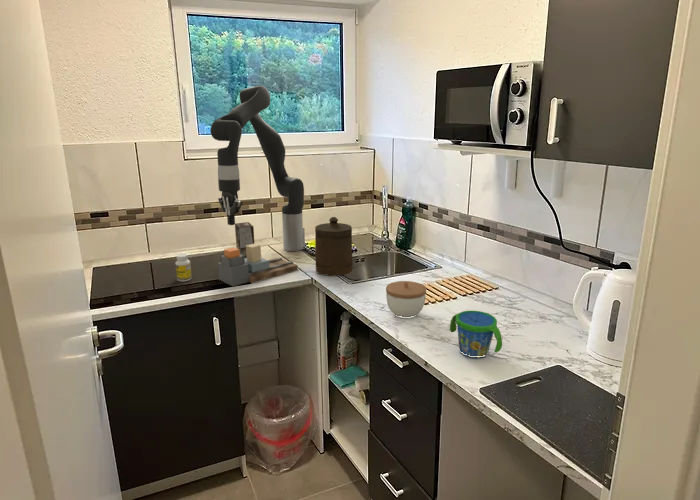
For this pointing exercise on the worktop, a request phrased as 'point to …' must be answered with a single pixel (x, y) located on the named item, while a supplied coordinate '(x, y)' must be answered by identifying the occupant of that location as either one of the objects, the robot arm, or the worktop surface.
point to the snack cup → (476, 332)
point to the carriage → (255, 258)
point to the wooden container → (333, 248)
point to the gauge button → (231, 252)
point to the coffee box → (244, 236)
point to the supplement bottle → (183, 268)
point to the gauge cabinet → (233, 270)
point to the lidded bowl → (405, 298)
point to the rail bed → (273, 270)
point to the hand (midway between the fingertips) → (231, 224)
